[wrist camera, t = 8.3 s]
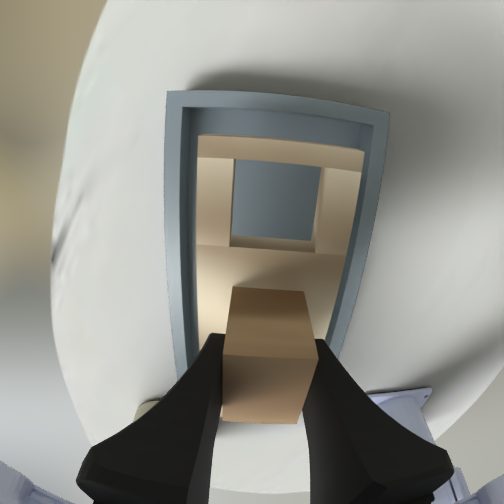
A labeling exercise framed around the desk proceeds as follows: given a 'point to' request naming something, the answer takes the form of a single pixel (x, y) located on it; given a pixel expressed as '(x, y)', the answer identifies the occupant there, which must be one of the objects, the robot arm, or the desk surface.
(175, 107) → the tray
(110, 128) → the desk surface
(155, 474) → the robot arm
